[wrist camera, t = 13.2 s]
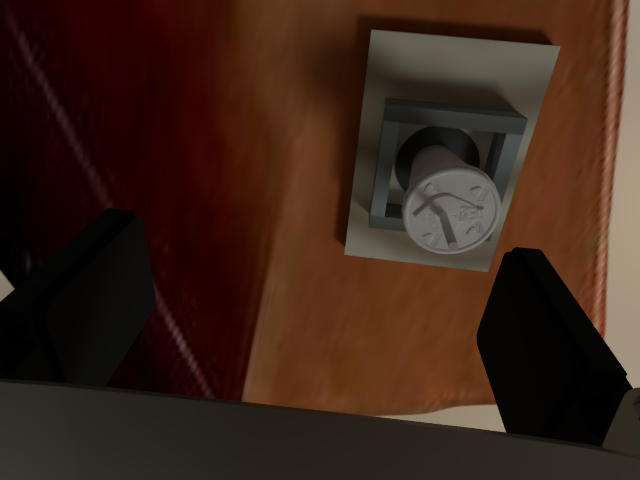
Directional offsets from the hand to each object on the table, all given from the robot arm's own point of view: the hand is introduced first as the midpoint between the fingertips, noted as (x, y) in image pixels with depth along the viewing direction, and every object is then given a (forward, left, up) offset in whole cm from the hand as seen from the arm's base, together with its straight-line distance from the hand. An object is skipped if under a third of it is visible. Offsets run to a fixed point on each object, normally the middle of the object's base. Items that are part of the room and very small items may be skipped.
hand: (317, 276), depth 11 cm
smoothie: (+5, +7, -27) cm, 28 cm away
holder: (+5, +8, -28) cm, 30 cm away
